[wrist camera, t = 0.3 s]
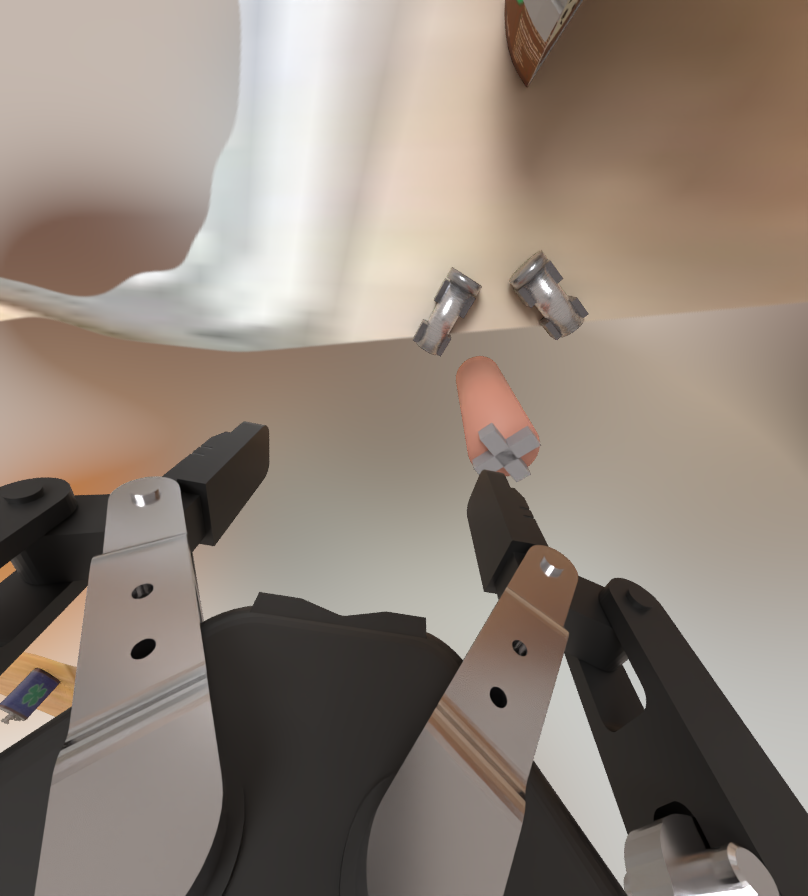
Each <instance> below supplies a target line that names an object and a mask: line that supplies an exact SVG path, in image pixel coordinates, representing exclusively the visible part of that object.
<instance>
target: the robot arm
mask: <svg viewBox="0 0 808 896" xmlns="http://www.w3.org/2000/svg"><path fill="white" fill-rule="evenodd" d="M268 468H269V429H268V427H267V426H266V425H261V424H256V423H250V422H243V423H241V424H240V425H239V426H238V427H237V428H235V429H234V430H233V431H232V432H231V433H230V432H224V433H221V434H219V435H216V436H214V437H211V438H210V439H209V440H207V441H206V442H205V443H204V444H202V445H201V447H199V448H197V449H196V450H195V451H194V452H193V453H192V454H190V455H189V456H187V457H186V458H185V459H183V460H182V461H181V462H180V463H178V464H177V465H176V466H175V467H173V468H172V469H171V470H170V471H168V472H167V473H166V474H164V476H162V477H145V478H140V479H136V480H133V481H130V482H128V483H125V484H123V485H121V486H120V487H118V488H117V489H115V490H114V491H113V492H112V493H111V494H107V495H75V496H74V494H73V491H72V489H71V487H70V485H69V483H67V482H66V481H65V480H62V479H58V478H33V479H27V480H22V481H18V482H14V483H11V484H7V485H4V486H2V487H0V568H1V567H3V566H4V565H5V564H7V563H8V562H9V561H11V562H12V564H13V565H14V567H15V569H16V571H15V572H13V573H12V574H11V575H10V576H8V577H7V578H6V579H5V580H3V581H2V582H1V583H0V675H1V674H2V673H3V672H4V671H5V670H6V669H7V668H8V667H9V666H10V665H11V664H12V663H13V662H14V661H15V660H16V659H17V658H18V657H19V656H20V655H21V654H22V653H23V652H24V651H25V649H27V648H28V647H29V645H30V644H31V643H32V642H33V641H34V640H35V639H36V638H37V637H38V636H39V635H40V634H41V633H42V632H43V631H44V630H45V629H46V628H47V627H48V626H49V625H50V624H51V623H52V622H53V621H54V620H55V619H56V618H57V617H58V616H59V615H60V614H61V613H62V612H63V611H64V610H65V608H66V607H67V606H68V605H69V604H70V603H71V602H72V601H73V600H74V599H75V598H76V597H77V596H78V595H79V594H80V593H81V592H82V591H83V590H84V589H85V588H86V587H87V586H88V587H87V596H86V603H85V610H84V618H83V626H82V634H81V641H80V649H79V656H78V664H77V672H76V679H75V687H74V695H73V702H72V707H70V708H69V709H67V710H66V711H64V712H63V713H61V714H60V715H58V716H56V717H55V718H53V719H52V720H50V721H49V722H47V723H46V724H44V725H43V726H41V727H40V728H38V729H36V730H35V731H34V732H32V733H30V734H29V735H27V736H26V737H24V738H23V739H21V740H20V741H18V742H17V743H15V744H13V745H12V746H11V747H9V748H7V749H6V750H4V751H3V752H1V753H0V896H808V813H807V812H806V811H805V809H804V808H803V806H802V805H801V804H800V802H799V801H798V799H797V798H796V796H795V795H794V794H793V792H792V791H791V789H790V788H789V786H788V785H787V784H786V782H785V781H784V779H783V778H782V777H781V775H780V774H779V772H778V771H777V769H776V768H775V766H774V765H773V764H772V762H771V761H770V759H769V758H768V757H767V755H766V754H765V752H764V751H763V749H762V748H761V746H760V745H759V744H758V742H757V741H756V739H755V738H754V737H753V735H752V734H751V732H750V731H749V729H748V728H747V727H746V725H745V724H744V723H743V721H742V719H741V718H740V717H739V715H738V714H737V712H736V711H735V710H734V708H733V707H732V705H731V704H730V702H729V701H728V699H727V698H726V697H725V695H724V694H723V692H722V691H721V690H720V688H719V687H718V686H717V684H716V683H715V681H714V680H713V678H712V677H711V675H710V674H709V672H708V671H707V670H706V668H705V667H704V665H703V664H702V663H701V661H700V660H699V658H698V657H697V655H696V654H695V652H694V651H693V650H692V648H691V647H690V645H689V644H688V643H687V641H686V640H685V638H684V637H683V635H682V634H681V632H680V631H679V630H678V628H677V627H676V625H675V624H674V623H673V621H672V620H671V618H670V617H669V615H668V614H667V613H666V611H665V610H664V608H663V607H662V606H661V604H660V603H659V602H658V601H657V600H656V598H655V597H653V596H652V595H651V594H650V593H649V592H648V591H646V590H645V589H643V588H642V587H641V586H639V585H638V584H636V583H634V582H631V581H629V580H627V579H623V578H614V579H612V580H611V581H610V582H609V583H608V584H607V585H606V586H605V587H603V586H601V585H598V584H596V583H594V582H591V581H589V580H587V579H584V578H582V577H580V576H578V573H577V571H576V569H575V567H574V565H573V564H572V563H571V562H570V560H568V559H567V558H566V557H565V556H564V555H563V554H561V553H560V552H558V551H557V550H555V549H553V548H550V547H548V545H547V543H546V541H545V539H544V537H543V535H542V533H541V531H540V529H539V527H538V525H537V523H536V521H535V519H533V515H532V512H531V511H530V510H529V506H528V505H527V503H526V500H525V498H524V497H523V496H522V495H521V494H520V493H519V492H518V491H517V490H516V489H515V488H511V487H510V486H509V483H508V481H507V479H506V477H505V475H504V473H500V472H495V471H490V470H485V469H484V470H482V471H481V473H480V475H479V478H478V480H477V482H476V485H475V487H474V489H473V492H472V494H471V497H470V499H469V502H468V507H467V518H468V522H469V527H470V531H471V535H472V540H473V544H474V549H475V553H476V558H477V562H478V567H479V571H480V575H481V580H482V585H483V589H484V592H489V593H495V594H497V595H498V599H499V600H498V602H497V604H496V605H495V607H494V609H493V610H492V612H491V614H490V616H489V617H488V619H487V621H486V622H485V624H484V626H483V627H482V629H481V631H480V632H479V634H478V636H477V637H476V639H475V641H474V643H473V644H472V646H471V648H470V650H469V651H468V653H467V654H466V656H465V658H464V660H462V659H461V658H460V657H459V655H458V654H457V653H456V652H455V651H454V650H453V649H451V648H450V647H449V646H448V645H447V644H445V643H444V642H443V641H441V640H440V639H438V638H437V637H435V636H433V635H432V634H429V633H427V632H426V618H424V617H417V616H411V615H405V614H398V613H392V612H379V613H369V614H359V615H350V616H341V615H338V614H336V613H333V612H331V611H329V610H326V609H324V608H322V607H320V606H317V605H315V604H313V603H311V602H308V601H306V600H304V599H301V598H295V597H288V596H282V595H275V594H268V593H262V592H259V594H258V596H257V598H256V600H255V602H254V604H253V606H247V607H242V608H238V609H233V610H230V611H227V612H224V613H221V614H219V615H216V616H214V617H211V618H210V619H207V620H206V621H204V619H203V613H202V608H201V601H200V595H199V589H198V583H197V577H196V571H195V564H194V558H193V553H192V552H193V551H194V549H195V548H196V547H197V546H198V544H204V545H211V546H215V545H216V543H217V542H218V541H219V539H220V538H221V536H222V535H223V534H224V532H225V531H226V530H227V528H228V527H229V526H230V524H231V523H232V522H233V520H234V519H235V517H236V516H237V515H238V514H239V512H240V511H241V509H242V508H243V507H244V505H245V504H246V503H247V501H248V500H249V499H250V497H251V496H252V495H253V493H254V492H255V491H256V489H257V488H258V486H259V485H260V484H261V482H262V481H263V480H264V478H265V476H266V474H267V472H268ZM563 654H565V656H566V659H567V662H568V665H569V668H570V671H571V674H572V676H573V679H574V682H575V685H576V688H577V691H578V694H579V696H580V699H581V702H582V705H583V708H584V711H585V714H586V716H587V719H588V722H589V725H590V728H591V731H592V733H593V736H594V739H595V742H596V744H597V748H598V751H599V753H600V756H601V759H602V762H603V765H604V768H605V770H606V773H607V776H608V779H609V782H610V785H611V787H612V790H613V793H614V796H615V799H616V802H617V805H618V807H619V810H620V814H621V816H622V819H623V822H624V825H625V828H626V831H627V834H628V836H627V839H626V842H625V848H624V858H625V866H626V871H627V873H626V875H625V877H624V890H625V891H624V890H623V888H622V887H621V885H620V884H619V883H618V881H617V879H616V878H615V877H614V875H613V874H612V872H611V871H610V869H609V868H608V867H607V865H606V864H605V863H604V861H603V859H602V858H601V857H600V855H599V854H598V852H597V851H596V849H595V848H594V847H593V845H592V844H591V842H590V841H589V840H588V838H587V837H586V835H585V834H584V832H583V831H582V829H581V828H580V826H579V825H578V824H577V822H576V821H575V819H574V818H573V816H572V815H571V814H570V812H569V811H568V809H567V808H566V807H565V805H564V804H563V802H562V801H561V799H560V798H559V796H558V795H557V794H556V792H555V791H554V789H553V788H552V786H551V785H550V784H549V782H548V781H547V779H546V778H545V776H544V775H543V774H542V772H541V771H540V769H539V768H538V766H537V765H536V763H535V762H534V761H533V759H534V755H535V752H536V748H537V745H538V741H539V738H540V734H541V731H542V727H543V724H544V720H545V717H546V713H547V710H548V706H549V703H550V700H551V696H552V693H553V689H554V686H555V682H556V679H557V675H558V671H559V668H560V665H561V661H562V658H563ZM628 659H629V661H630V662H631V665H632V667H633V668H634V671H635V672H636V674H637V676H638V678H639V680H640V682H641V684H642V686H643V688H644V691H645V695H646V708H645V710H644V708H643V706H642V704H641V702H640V700H639V697H638V696H637V693H636V691H635V689H634V687H633V685H632V683H631V681H630V679H629V677H628V675H627V673H626V671H625V669H624V667H623V665H622V664H623V663H624V662H625V661H627V660H628Z"/></svg>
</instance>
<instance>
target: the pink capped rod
mask: <svg viewBox="0 0 808 896" xmlns="http://www.w3.org/2000/svg"><path fill="white" fill-rule="evenodd" d="M456 384H457V390H458V396H459V402H460V408H461V414H462V420H463V426H464V433H465V439H466V445H467V451H468V456H469V459H470V461H471V463H472V464H473V468H474V470H475V471H476V472H477V473H478V474H479V475H480V473H481V471H482V470H484V469H485V470H490V471H495V472H500V473H504V475H505V476H510V475H511V476H512V477H513V479H514V480H515V481H516V482H518V481H520V480H522V479H523V478H525V477H527V476H529V475H531V474H530V471H529V469H528V466H529V465H530V464H531V463H532V462H533V461H534V460H535V458H536V456H537V454H538V452H539V447H540V440H539V436H538V434H537V432H536V430H535V429H534V427H533V425H532V423H531V422H530V420H529V418H528V417H527V415H526V413H525V412H524V410H523V408H522V407H521V405H520V403H519V401H518V400H517V398H516V396H515V395H514V393H513V391H512V390H511V388H510V386H509V385H508V383H507V381H506V380H505V378H504V376H503V374H502V373H501V371H500V369H499V368H498V366H497V364H496V363H495V362H494V361H493V360H491V359H490V358H487V357H484V356H476V357H472V358H470V359H468V360H466V361H465V362H464V363H463V364H462V365H461V366H460V367H459V369H458V371H457V375H456Z"/></svg>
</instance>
